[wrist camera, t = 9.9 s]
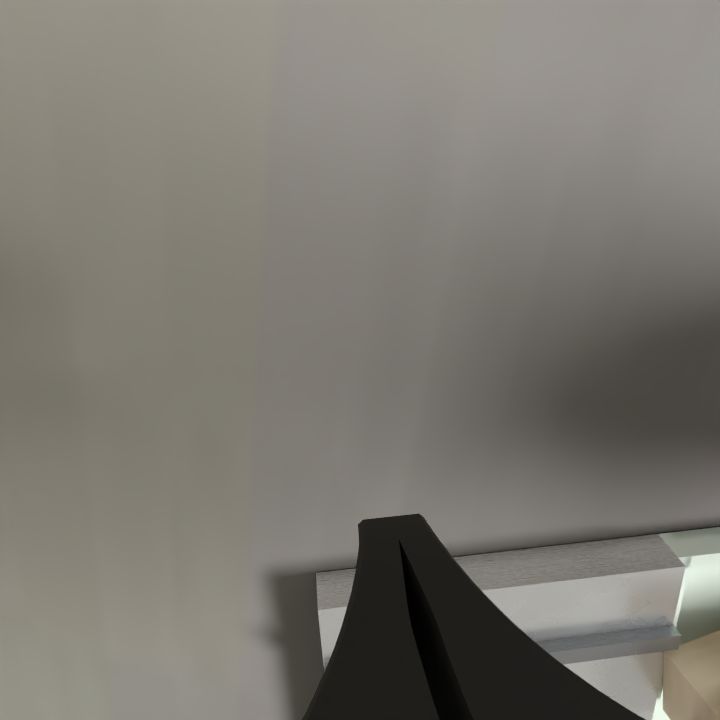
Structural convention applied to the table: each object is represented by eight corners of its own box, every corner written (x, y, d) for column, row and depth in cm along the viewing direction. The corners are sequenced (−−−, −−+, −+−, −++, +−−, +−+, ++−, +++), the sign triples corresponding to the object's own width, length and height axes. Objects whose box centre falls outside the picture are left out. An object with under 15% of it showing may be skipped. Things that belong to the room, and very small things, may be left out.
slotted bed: (657, 533, 26) (694, 576, 24) (618, 744, 32) (644, 796, 29) (316, 573, 25) (318, 622, 23) (337, 784, 31) (340, 841, 28)
